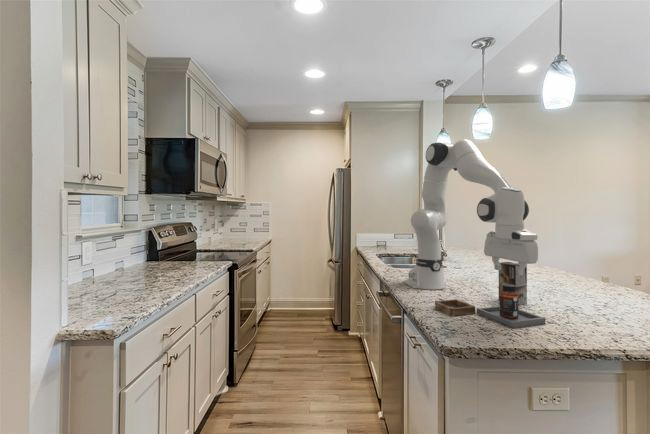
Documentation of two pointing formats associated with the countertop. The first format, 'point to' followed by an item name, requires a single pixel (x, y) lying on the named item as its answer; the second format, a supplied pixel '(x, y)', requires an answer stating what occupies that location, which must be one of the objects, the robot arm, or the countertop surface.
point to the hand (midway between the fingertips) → (508, 272)
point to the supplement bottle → (509, 302)
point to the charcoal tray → (521, 321)
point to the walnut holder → (461, 310)
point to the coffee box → (513, 279)
